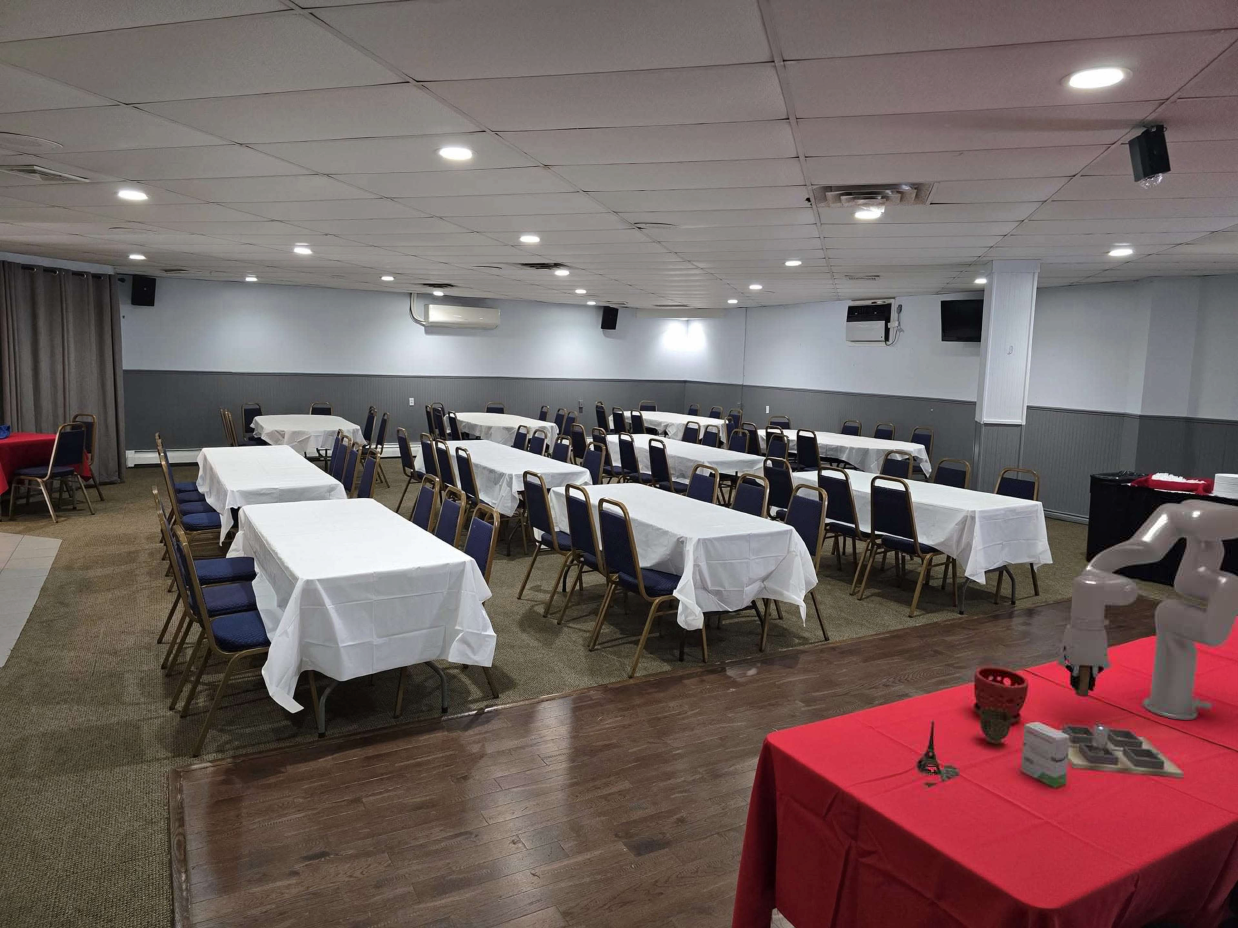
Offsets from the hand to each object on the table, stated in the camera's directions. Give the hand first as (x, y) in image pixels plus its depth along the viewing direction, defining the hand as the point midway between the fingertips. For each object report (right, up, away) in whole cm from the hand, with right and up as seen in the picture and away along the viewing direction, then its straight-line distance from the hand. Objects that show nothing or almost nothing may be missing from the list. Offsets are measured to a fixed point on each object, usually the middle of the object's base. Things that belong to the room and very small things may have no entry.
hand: (1082, 688), depth 210 cm
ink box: (-26, -13, -27) cm, 40 cm away
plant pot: (-21, -9, +4) cm, 23 cm away
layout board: (-3, -12, -16) cm, 20 cm away
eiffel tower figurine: (-51, -13, -25) cm, 58 cm away
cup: (-29, -11, -11) cm, 33 cm away
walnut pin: (0, -2, 0) cm, 2 cm away
